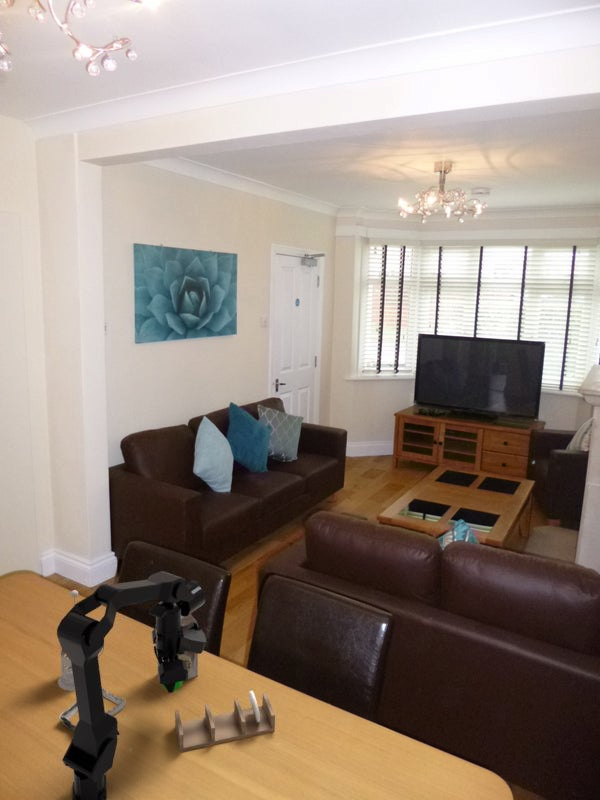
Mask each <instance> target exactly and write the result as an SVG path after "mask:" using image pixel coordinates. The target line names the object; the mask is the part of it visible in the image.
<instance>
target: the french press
mask: <svg viewBox="0 0 600 800" xmlns="http://www.w3.org/2000/svg"><path fill="white" fill-rule="evenodd" d="M69 594H70V595H69V596H70V597H73V599H74V605H75V604H76V597H78V596H79V592H78V590H76V589H74V590H71V591H70V593H69ZM74 605H73V606H74ZM104 650H105V645H104V646H103V648H102V649H101V651H100V653H99V655H98V659H99V658H100V657H101V656H102V654H103V653H104ZM60 663H61V664H60V665H61V667H60V668H61V674H60V676H59V677H58V680H57V685H58V687H60V688H61V689H62V690H65V691H69V692H71V691H72V692H73V691H74V692H75V686H74V679H73V672H72V664H71V660H70V659H69V657H68V656H67V655H66V653H65V652H64V651H63V649H62V648H61V650H60Z"/></svg>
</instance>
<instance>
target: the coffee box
mask: <svg viewBox="0 0 600 800" xmlns="http://www.w3.org/2000/svg"><path fill="white" fill-rule="evenodd" d="M192 621H193V622H197V623H198V621H197V620H196V619H195V618H194V616H193V615H192V613H191V614H189V615H188V616H181V624H182V629H185V628H186V627H187V626H188V625H189V624H190V623H191V622H192ZM198 655H199V654H197V653H196V652H190V651H186V650H184V654H182V655H179V654H178V659H182V660H183V661H185V662H186V665H187V669H188V679H187V680H190V679H192V678H195V677H198V675H199V672H198V671H199V665H198V659H199V657H198ZM159 665H160V664H159V662H158V661H157V667H158V666H159Z"/></svg>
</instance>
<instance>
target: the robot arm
mask: <svg viewBox="0 0 600 800" xmlns="http://www.w3.org/2000/svg"><path fill="white" fill-rule="evenodd" d="M206 599H207V597H206V595H205V592H204V590H203V589H202V587H200V582H199V581H196V580H193V579H192V580H190V581H188V583H186V579H185V578H184V577H181V576H178V575H175V574H172V573H169V572H166V571H161V570H160V571H158V572H156V573H153V574H151V575H150V576H149V577H148V578H147V579H141V580H135V581H127V582H120V583H113V584H109V583H105V584H104V583H103V584H101V585H99V586H98V587H97V588H96V589H95V590H94V592H93V593H92V594H90V595H88V596H86V597H85V598H83V599H81V600H80V601H78V602H75V605H73V606H72V607H71V609H70V610H69V611H68V612H67V613H66V614H65V616H64V617H63V618H62V619H61V621H60V622H59V624H58V626H57V628H56V636H57V639H58V642H59V645H60V648H61V650H62V649H63V651H64V652H65V653H66V654H65V656H68V657H67V658H68V659H70V660H71V664H72V672H73V679H74V686H75V691H74V692H75V699H76V701H77V707H78V711H77V713H78V721H77V723H76V725H74V726H75V728H74V730H72V731H73V733H72V734H73V735H72V736H73V738H72V740H71V742H70V743H69V746H68V748H67V750H66V752H65V753H64V755H63V757H62V760H61V761H62V762H63V764H64V766H66V767H67V768H70V769H71V770H73V782H72V800H107V799H108V798H107V794H108V793H107V775H106V774H107V772H108V771H110V769H112V768H113V766H114V761H115V755H116V751H117V747H118V742H119V741H118V739H119V738H118V736H120V732H119V730H118V729H119V728H118V725H119V723H118V719H117V717H115V716H114V715H113V716H111V715H109V714H107V713H106V711H105V702H104V697H103V693H102V689H103V686H102V685H103V684H102V680H101V679H102V678H101V670H100V663H99V658H98V657H99V655H100V654H101V652H102V651H101V649H102V650H103V646H104V647H105V637H106V636H107V635H108V634H109V633H110V631H111V630H112V629H113V628H114V625H115V620H116V617H117V612H118V611H119V610H120V608H121V607H124V606H125V607H126V606H131V605H135V604H141V603H147V602H152V601H156V603H155V604H154V606H153V607H152V608H151V609H150V610H149V612H148V614H149V615H151V616H153V617H155V623H156V624H155V625H154V629H153V630H152V631H151V640H152V644H153V645H154V644H155V645H154V646H153V650H154V651H153V653H154V655H155V657H156V659H157V663H158V662H159V664H160V665H159V666H158V665H157V676H158V681H159V684H160V685H161V686H162V685H164V686H165V688H166V689H167V691H166V692H167V693H168V694H171V693H174V692H175V691H174V688H175V685H176V682H181V681H183V682H185V681H187V680H189V679H188V669H187V665H186V662H185V661H183V660H182V659H178V654H179V655H182V654H184V650H186V651H190V652H196V653H197V655H201V654H202V653H203V652H204V648H205V646H206V643H207V637H206V634H205V632H204V631H203V629H200V628H199V627H200V626H199V624H198V621H197V622H193V621H192V622H191V623H190V624H189V625H188V626H187V627H186V628H185V629H182V624H181V616H188V615H189V614H191V615H192V613H193V612H195V611H197V609H199V608H200V607H202V606H203V605H204V604H205V602H206ZM157 601H158V602H159V603H158V602H157ZM101 606H105V612H104V616H102V618H101V619H100V620H97V619H96V618H95V619H94V618H92V617H90V616H87V614H89V613H91V612H93V611H95V610H96V609H99V608H100V607H101ZM100 651H101V652H100ZM173 691H174V692H173Z"/></svg>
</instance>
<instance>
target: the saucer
mask: <svg viewBox="0 0 600 800" xmlns="http://www.w3.org/2000/svg"><path fill="white" fill-rule="evenodd" d="M248 698H249V702H250V705H251V706H250V708H252V711H253V714H254V717H255V720H256V722H257V723H258V722H261V719H260V713H259V709H258V707H259V706H258V702H257V698H256V694H255V693H254V690H248Z"/></svg>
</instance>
